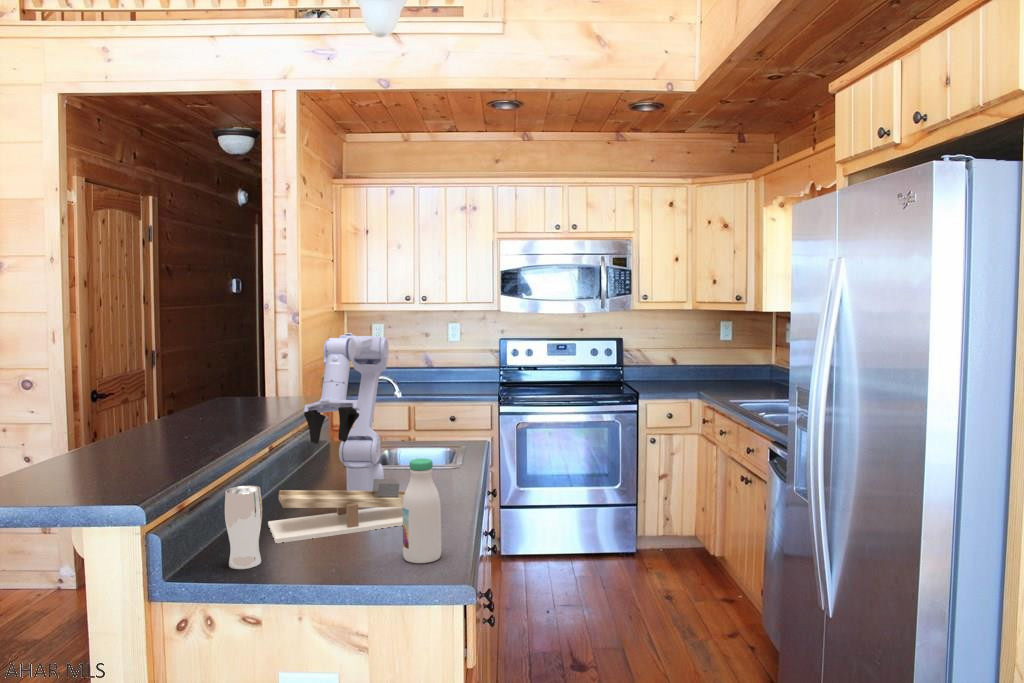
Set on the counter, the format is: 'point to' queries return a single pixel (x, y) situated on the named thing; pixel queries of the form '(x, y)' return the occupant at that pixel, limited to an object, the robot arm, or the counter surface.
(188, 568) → the counter surface
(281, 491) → the balance beam
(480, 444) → the counter surface
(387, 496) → the block
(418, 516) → the milk bottle
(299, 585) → the counter surface
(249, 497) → the beer glass
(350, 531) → the beam stand
